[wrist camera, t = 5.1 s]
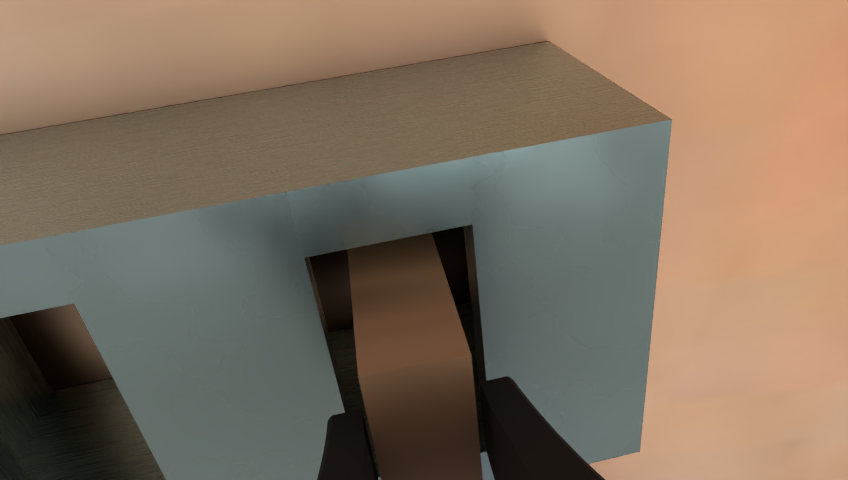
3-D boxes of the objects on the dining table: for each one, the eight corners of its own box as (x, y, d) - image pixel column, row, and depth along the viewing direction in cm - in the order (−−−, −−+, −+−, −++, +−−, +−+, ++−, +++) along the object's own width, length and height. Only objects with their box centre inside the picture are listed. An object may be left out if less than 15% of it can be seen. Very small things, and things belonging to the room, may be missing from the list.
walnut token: (446, 371, 18) (487, 528, 13) (376, 384, 18) (396, 547, 13) (427, 219, 15) (471, 355, 11) (346, 233, 15) (357, 376, 11)
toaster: (551, 306, 24) (639, 451, 18) (35, 417, 22) (-61, 620, 16) (548, 40, 18) (671, 119, 12) (-131, 157, 17) (-368, 314, 11)
